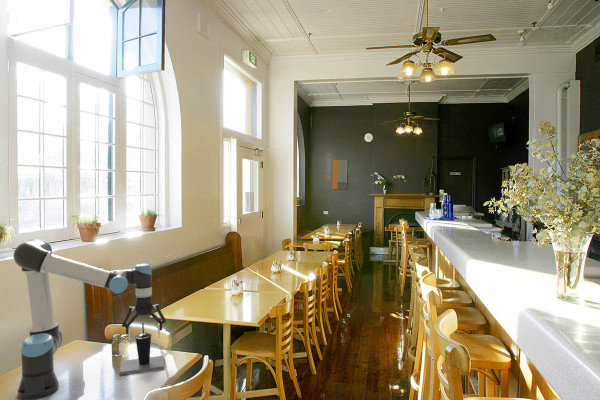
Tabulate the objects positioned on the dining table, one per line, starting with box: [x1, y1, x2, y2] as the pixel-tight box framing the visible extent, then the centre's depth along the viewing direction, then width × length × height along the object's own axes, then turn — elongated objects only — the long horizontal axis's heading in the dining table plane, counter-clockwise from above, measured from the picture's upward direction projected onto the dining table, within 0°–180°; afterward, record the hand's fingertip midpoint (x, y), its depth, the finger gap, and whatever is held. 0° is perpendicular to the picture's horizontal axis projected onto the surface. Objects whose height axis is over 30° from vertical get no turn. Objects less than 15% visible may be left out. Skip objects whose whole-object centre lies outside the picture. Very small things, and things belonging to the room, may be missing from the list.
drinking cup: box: [134, 322, 153, 365], centre depth 210 cm, size 8×8×20 cm
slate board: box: [119, 355, 165, 376], centre depth 210 cm, size 20×14×2 cm
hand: (144, 338), depth 210 cm, fingers open, 13 cm apart
